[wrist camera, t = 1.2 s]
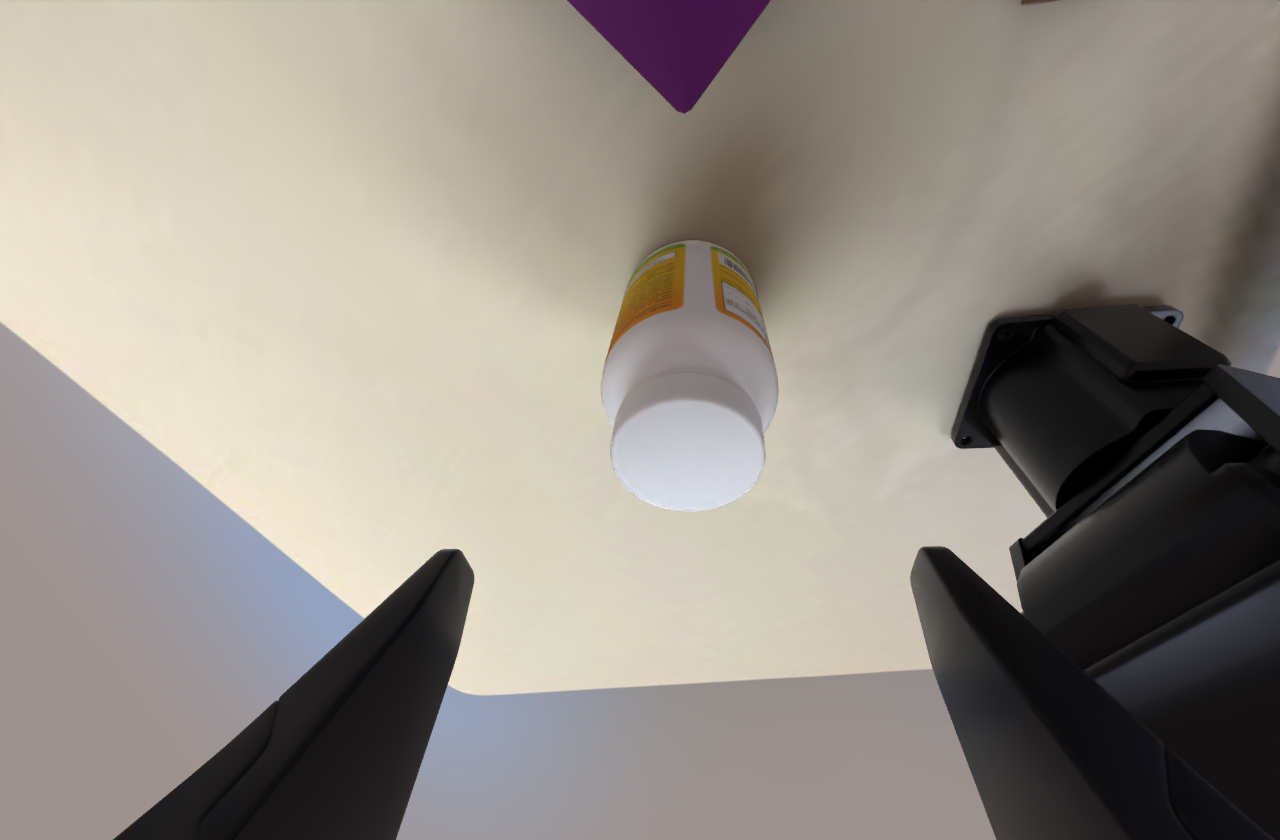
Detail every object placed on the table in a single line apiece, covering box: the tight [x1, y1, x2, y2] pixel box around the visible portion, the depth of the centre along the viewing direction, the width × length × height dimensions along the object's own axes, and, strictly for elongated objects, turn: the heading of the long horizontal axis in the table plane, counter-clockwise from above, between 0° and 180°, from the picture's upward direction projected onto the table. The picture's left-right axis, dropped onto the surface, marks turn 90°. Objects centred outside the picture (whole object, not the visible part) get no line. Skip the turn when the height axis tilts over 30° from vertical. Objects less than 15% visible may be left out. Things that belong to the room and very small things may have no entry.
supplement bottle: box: [601, 240, 778, 512], centre depth 16 cm, size 5×5×10 cm
